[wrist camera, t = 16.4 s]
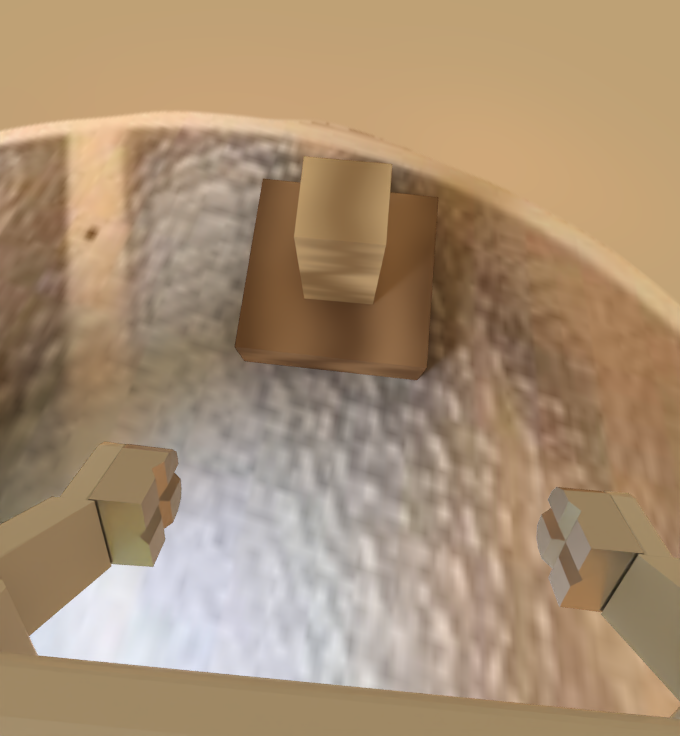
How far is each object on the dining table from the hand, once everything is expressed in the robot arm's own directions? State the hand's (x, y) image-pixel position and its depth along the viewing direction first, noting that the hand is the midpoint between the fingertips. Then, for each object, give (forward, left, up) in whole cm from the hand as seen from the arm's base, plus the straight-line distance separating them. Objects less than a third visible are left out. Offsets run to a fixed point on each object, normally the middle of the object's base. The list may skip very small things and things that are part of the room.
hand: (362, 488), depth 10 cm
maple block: (-2, +14, -18) cm, 22 cm away
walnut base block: (-2, +14, -22) cm, 26 cm away
